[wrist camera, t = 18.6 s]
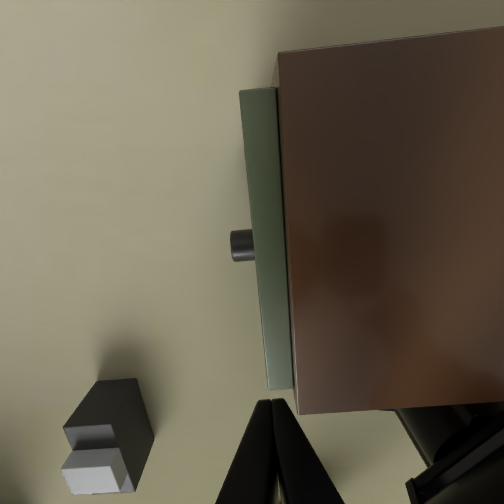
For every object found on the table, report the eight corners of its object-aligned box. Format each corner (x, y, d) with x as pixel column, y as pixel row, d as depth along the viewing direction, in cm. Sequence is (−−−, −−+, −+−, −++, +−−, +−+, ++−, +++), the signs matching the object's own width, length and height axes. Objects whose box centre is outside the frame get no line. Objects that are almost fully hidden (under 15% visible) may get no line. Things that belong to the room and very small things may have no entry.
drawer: (246, 314, 18) (242, 392, 12) (224, 126, 15) (201, 94, 8) (515, 292, 18) (664, 363, 11) (565, 90, 14) (827, 23, 8)
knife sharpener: (154, 439, 23) (128, 512, 18) (118, 442, 23) (81, 515, 18) (136, 377, 21) (100, 441, 16) (96, 380, 21) (48, 445, 16)
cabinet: (279, 312, 19) (297, 415, 11) (264, 113, 15) (277, 51, 7) (534, 292, 19) (746, 385, 11) (591, 78, 14) (1007, -35, 6)
